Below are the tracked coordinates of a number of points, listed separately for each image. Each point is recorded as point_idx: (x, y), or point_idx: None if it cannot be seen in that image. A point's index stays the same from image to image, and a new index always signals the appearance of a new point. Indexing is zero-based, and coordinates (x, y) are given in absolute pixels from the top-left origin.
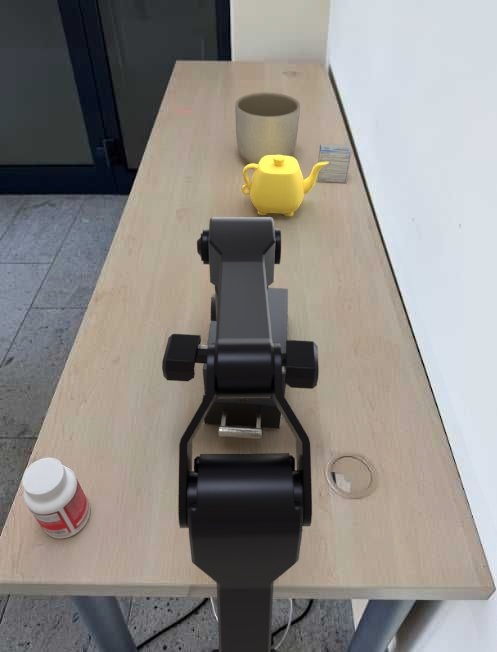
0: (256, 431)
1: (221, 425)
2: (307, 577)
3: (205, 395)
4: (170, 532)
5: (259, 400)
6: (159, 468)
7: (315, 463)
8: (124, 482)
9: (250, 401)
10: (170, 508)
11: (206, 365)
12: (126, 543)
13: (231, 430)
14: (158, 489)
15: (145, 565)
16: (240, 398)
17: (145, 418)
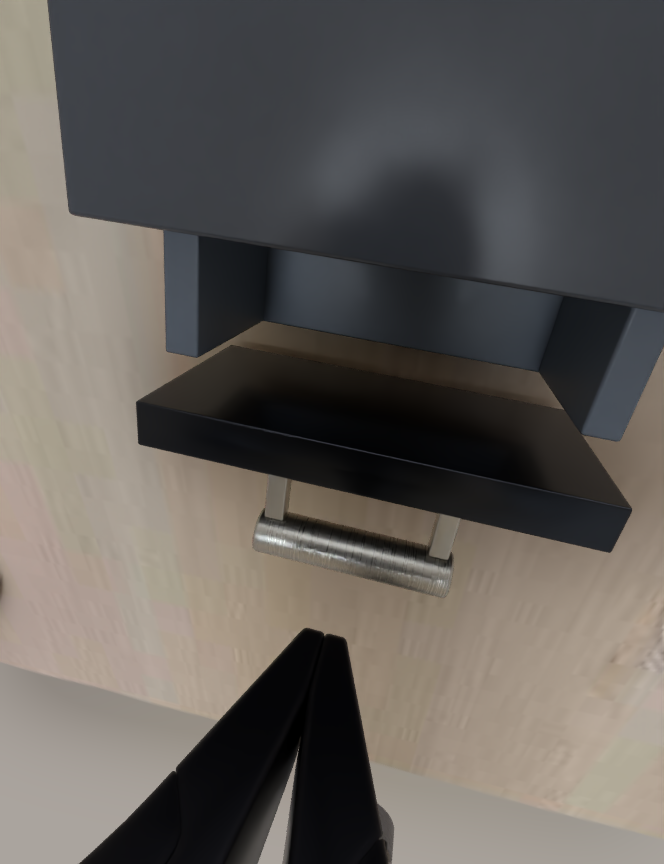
0: (424, 587)
1: (267, 514)
2: (492, 787)
3: (148, 409)
4: (184, 644)
5: (472, 491)
6: (119, 494)
7: (647, 573)
8: (41, 515)
9: (412, 491)
10: (173, 598)
11: (86, 174)
12: (97, 641)
13: (308, 559)
14: (132, 549)
15: (147, 683)
16: (291, 767)
17: (18, 300)
